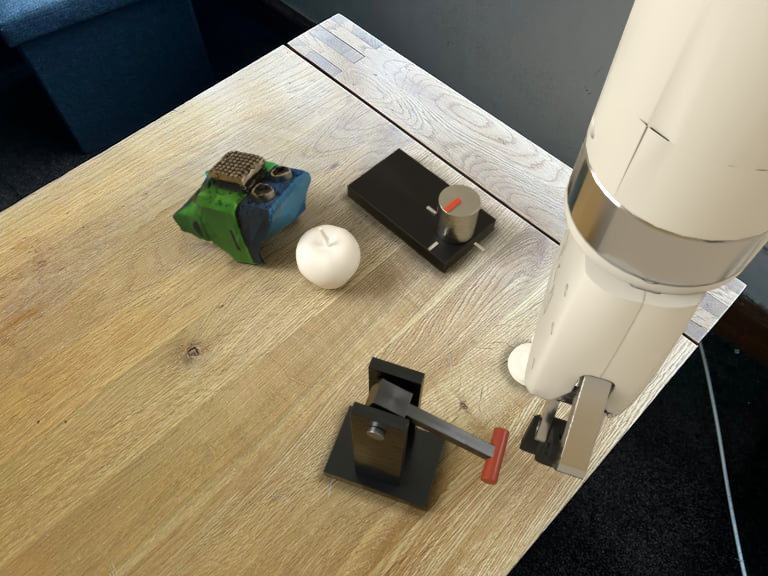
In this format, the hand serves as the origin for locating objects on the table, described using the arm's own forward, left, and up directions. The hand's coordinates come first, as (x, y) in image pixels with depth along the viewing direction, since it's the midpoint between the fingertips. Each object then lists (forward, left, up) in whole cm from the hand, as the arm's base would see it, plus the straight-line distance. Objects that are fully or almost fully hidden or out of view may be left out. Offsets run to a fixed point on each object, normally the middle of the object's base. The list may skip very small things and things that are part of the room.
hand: (563, 379), depth 40 cm
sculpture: (+36, -21, -26) cm, 49 cm away
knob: (+12, -28, -24) cm, 39 cm away
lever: (+7, 0, -15) cm, 17 cm away
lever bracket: (+11, 0, -26) cm, 29 cm away
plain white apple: (+24, -18, -26) cm, 40 cm away
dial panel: (+17, -30, -26) cm, 43 cm away
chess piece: (0, -14, -26) cm, 30 cm away
